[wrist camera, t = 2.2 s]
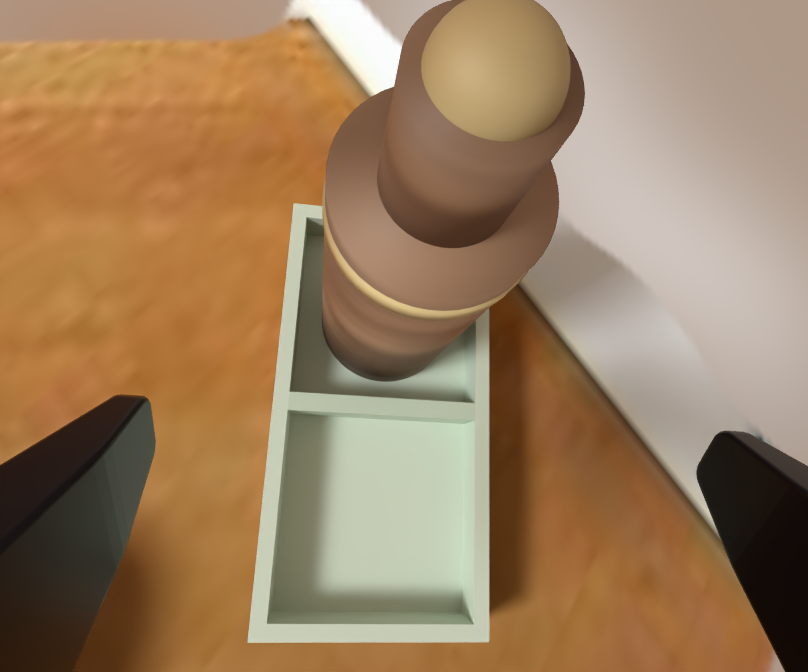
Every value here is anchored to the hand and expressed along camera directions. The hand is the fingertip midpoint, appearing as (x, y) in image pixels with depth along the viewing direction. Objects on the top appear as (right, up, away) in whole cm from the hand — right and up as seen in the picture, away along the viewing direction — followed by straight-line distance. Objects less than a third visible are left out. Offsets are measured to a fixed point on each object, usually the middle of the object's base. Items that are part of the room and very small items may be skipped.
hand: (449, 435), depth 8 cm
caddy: (-2, -1, +11) cm, 12 cm away
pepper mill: (-1, +2, +12) cm, 12 cm away
